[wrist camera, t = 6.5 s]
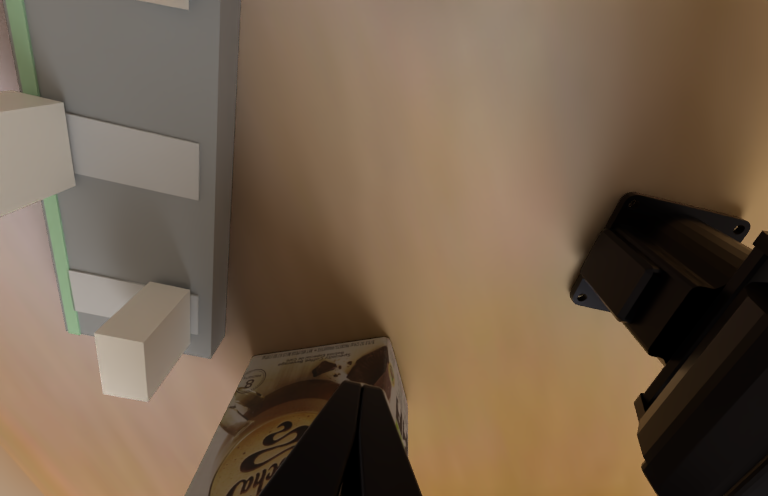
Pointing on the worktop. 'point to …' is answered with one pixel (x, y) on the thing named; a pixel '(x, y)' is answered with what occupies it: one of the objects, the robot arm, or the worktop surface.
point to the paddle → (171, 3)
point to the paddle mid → (32, 150)
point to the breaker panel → (137, 150)
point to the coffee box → (289, 410)
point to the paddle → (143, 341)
